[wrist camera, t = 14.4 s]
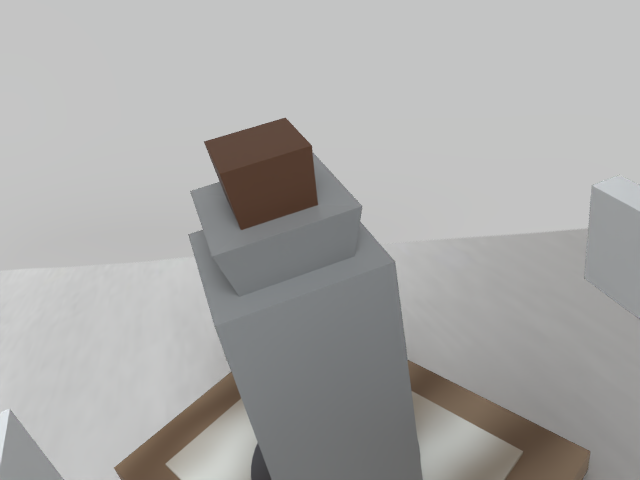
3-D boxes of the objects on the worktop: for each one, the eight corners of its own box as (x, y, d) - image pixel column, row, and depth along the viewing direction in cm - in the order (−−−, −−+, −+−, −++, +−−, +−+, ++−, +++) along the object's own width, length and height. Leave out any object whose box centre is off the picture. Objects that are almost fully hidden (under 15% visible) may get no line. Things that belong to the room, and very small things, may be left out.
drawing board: (587, 469, 29) (590, 446, 28) (398, 792, 20) (392, 776, 19) (311, 324, 42) (306, 305, 41) (123, 483, 33) (111, 463, 32)
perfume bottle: (259, 432, 32) (154, 140, 22) (368, 388, 33) (313, 93, 23) (294, 540, 26) (173, 213, 17) (423, 482, 28) (380, 148, 18)
